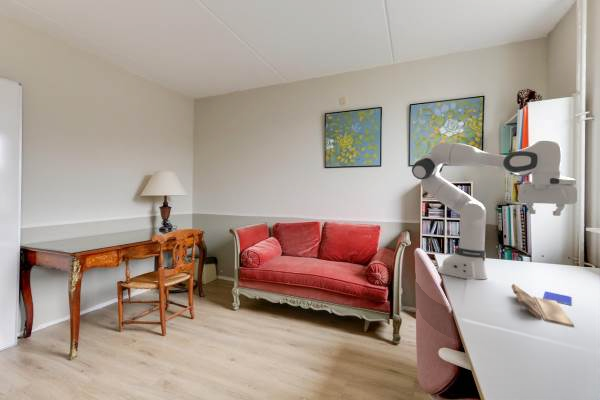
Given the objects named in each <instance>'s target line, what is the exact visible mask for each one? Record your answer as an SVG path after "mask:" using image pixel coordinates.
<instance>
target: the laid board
mask: <svg viewBox="0 0 600 400" xmlns="http://www.w3.org/2000/svg"><path fill="white" fill-rule="evenodd" d="M532 299H533V301H534V303H535V306H536V307H537V308H538V310H539V312H540V314H541V316H542V319H543V320H544V321H545V322H551V323H556V324H559V325H565V326H568V327H575V324H574V323H573V322H572V320H571V318H570V317H569V316H568V315H567V313H566V312H565V311H564V309H563V308H562V306H561V305H560V303H557V301H553V300H548V299H543V298H541V297H537V296H532Z"/></svg>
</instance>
